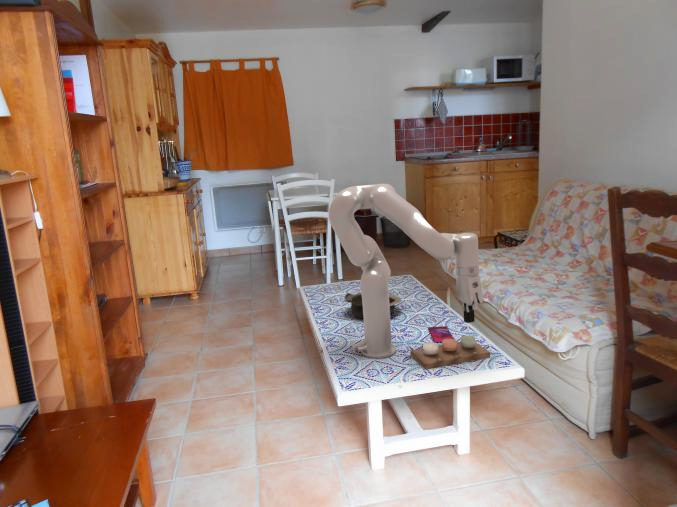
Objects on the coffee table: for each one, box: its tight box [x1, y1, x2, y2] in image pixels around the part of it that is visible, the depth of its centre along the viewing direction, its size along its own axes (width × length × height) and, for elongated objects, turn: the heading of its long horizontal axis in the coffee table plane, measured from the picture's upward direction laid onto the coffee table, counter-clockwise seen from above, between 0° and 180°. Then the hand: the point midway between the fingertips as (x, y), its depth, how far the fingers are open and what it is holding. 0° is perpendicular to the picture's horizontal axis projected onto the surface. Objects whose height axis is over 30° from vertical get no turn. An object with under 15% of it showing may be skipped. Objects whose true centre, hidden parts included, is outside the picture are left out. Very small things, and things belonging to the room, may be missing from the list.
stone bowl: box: [343, 292, 403, 319], centre depth 222 cm, size 25×25×9 cm
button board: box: [410, 341, 491, 371], centre depth 174 cm, size 24×12×2 cm, turn 105°
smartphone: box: [427, 325, 454, 344], centre depth 194 cm, size 8×1×15 cm
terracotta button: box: [441, 338, 458, 351], centre depth 173 cm, size 5×5×2 cm
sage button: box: [459, 335, 476, 348], centre depth 175 cm, size 5×5×2 cm
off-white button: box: [422, 341, 439, 355], centre depth 172 cm, size 5×5×2 cm
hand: (469, 321), depth 173 cm, fingers closed
